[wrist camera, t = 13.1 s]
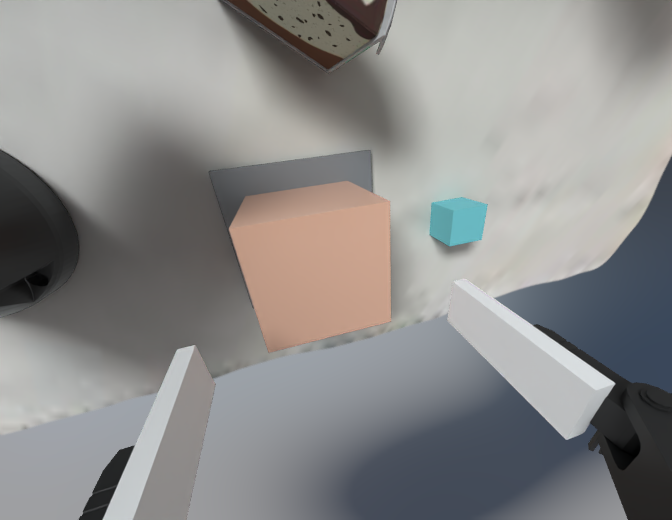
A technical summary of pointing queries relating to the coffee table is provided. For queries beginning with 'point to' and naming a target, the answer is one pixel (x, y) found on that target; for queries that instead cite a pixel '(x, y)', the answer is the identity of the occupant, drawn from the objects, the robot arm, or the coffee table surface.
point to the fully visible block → (457, 221)
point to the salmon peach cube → (315, 261)
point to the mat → (287, 179)
